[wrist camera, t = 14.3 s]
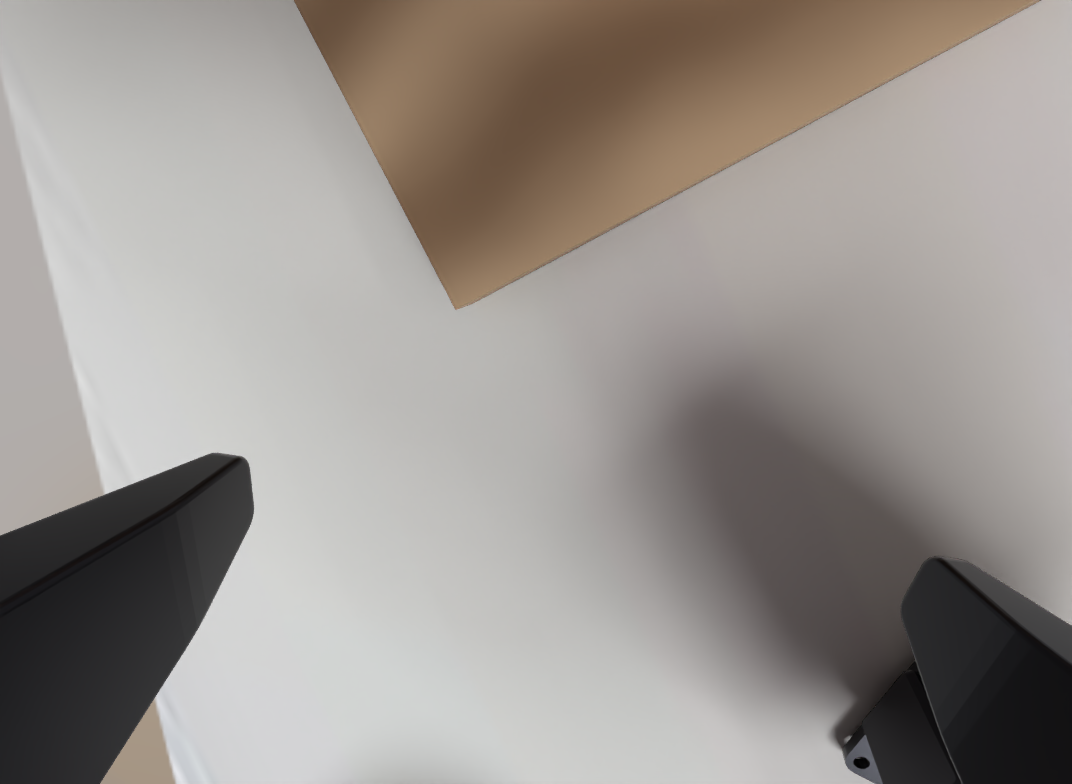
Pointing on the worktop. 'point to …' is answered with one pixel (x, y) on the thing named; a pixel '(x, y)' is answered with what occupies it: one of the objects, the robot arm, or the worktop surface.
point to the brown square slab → (597, 103)
